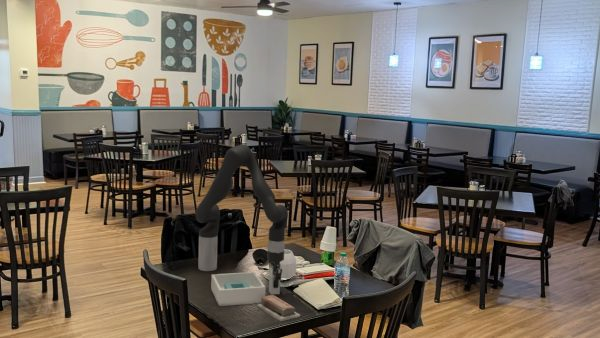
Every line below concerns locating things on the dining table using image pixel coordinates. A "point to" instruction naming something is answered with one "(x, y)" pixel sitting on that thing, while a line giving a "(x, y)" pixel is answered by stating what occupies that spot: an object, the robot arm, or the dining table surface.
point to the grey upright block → (271, 281)
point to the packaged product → (277, 308)
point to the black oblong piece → (260, 256)
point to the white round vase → (288, 264)
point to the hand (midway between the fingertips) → (274, 285)
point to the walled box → (237, 288)
